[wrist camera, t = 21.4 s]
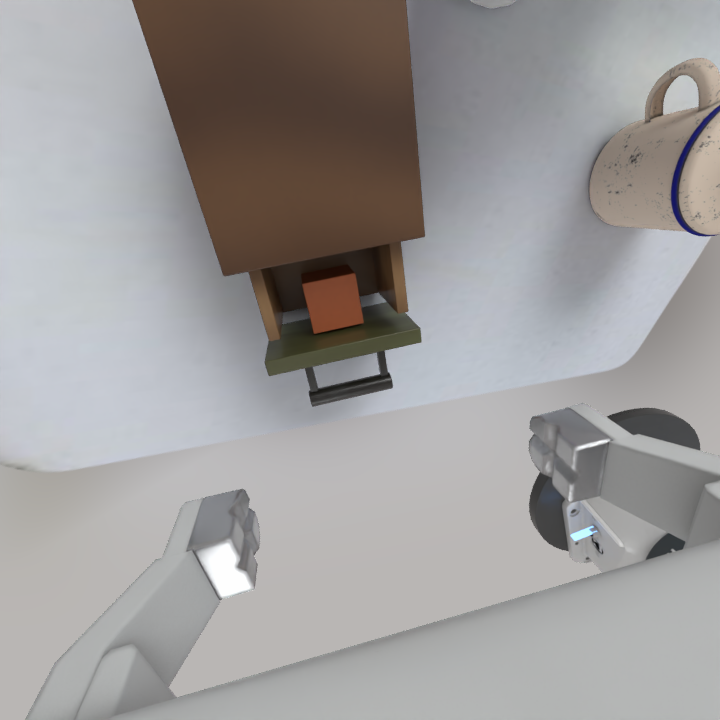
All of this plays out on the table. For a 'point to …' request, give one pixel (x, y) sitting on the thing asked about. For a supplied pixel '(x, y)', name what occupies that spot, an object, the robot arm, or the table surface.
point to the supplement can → (493, 3)
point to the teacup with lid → (665, 162)
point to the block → (332, 298)
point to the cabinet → (292, 122)
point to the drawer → (378, 332)
